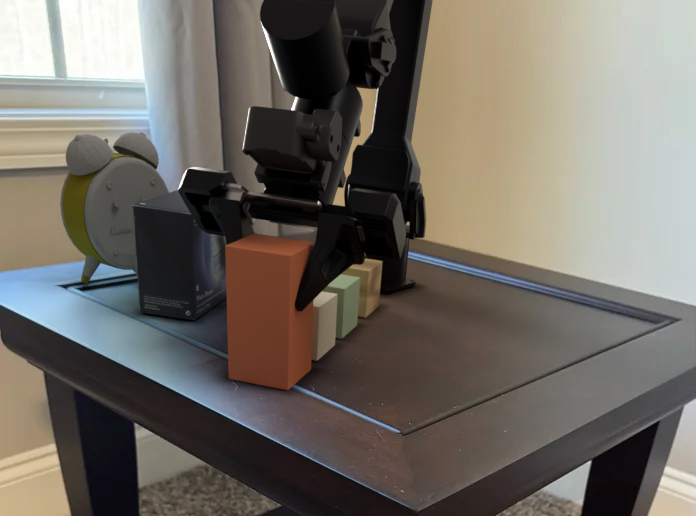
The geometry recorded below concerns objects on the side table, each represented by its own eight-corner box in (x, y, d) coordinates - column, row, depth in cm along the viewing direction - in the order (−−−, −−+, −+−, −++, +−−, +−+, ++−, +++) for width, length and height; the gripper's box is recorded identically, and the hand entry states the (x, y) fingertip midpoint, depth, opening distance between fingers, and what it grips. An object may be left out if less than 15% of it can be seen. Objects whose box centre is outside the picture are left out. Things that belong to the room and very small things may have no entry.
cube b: (312, 317, 82) (314, 269, 79) (357, 325, 81) (360, 277, 78) (295, 331, 78) (296, 280, 75) (341, 339, 77) (344, 288, 74)
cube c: (287, 336, 76) (288, 285, 74) (335, 345, 75) (337, 293, 73) (267, 351, 72) (267, 298, 70) (317, 361, 71) (319, 307, 69)
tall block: (255, 359, 70) (254, 233, 65) (311, 370, 69) (315, 242, 63) (228, 379, 66) (224, 245, 60) (287, 390, 65) (290, 255, 59)
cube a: (337, 299, 89) (339, 254, 86) (379, 306, 88) (382, 260, 85) (322, 310, 84) (324, 263, 82) (365, 318, 83) (369, 270, 81)
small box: (197, 322, 78) (192, 212, 72) (137, 314, 79) (127, 204, 73) (234, 296, 86) (232, 195, 81) (179, 288, 87) (173, 188, 82)
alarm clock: (149, 266, 94) (138, 128, 86) (188, 278, 91) (180, 136, 83) (67, 282, 86) (46, 131, 78) (107, 296, 83) (89, 140, 75)
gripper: (182, 52, 60) (117, 225, 57) (411, 75, 56) (355, 262, 53) (229, 155, 71) (176, 305, 68) (425, 180, 67) (378, 340, 64)
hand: (264, 303), depth 63 cm, fingers closed on tall block, 5 cm apart
